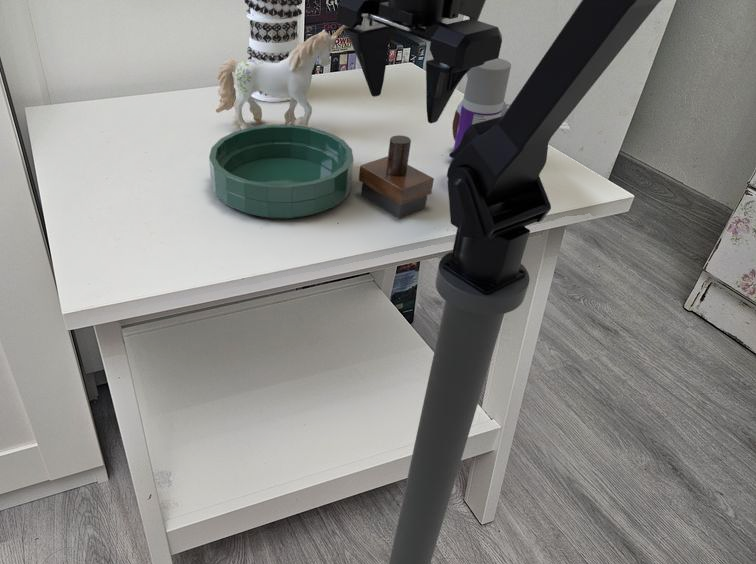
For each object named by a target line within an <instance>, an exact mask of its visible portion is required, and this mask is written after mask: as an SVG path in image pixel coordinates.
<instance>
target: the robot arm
mask: <svg viewBox="0 0 756 564" xmlns="http://www.w3.org/2000/svg"><path fill="white" fill-rule="evenodd" d="M486 1H487V0H339V1H338V3H337V11H336V23H337V24H340V25H341V26H343V25H345V26H346V27H345V28H344V30H343V33H344V34H345V35H347V37H348V39H349V41H350V44H351V46H352V48H353V50H354V52H355V56H356V57H357V58H356V59H357V60H358V63H359V65H360V68H361V70H362V74H363V76H364V78H365V81H366V84H367V87H368V90H369V93H370V96H372V97H374V98H375V97H380V96H381V94H382V90H383V86H384V81H385V75H386V67H387V62H388V61H387V60H388V53H389V46H390V44H391V42H392V40H393V38H394V37H395V35H396V33H397V31H400V32H403V33H405V34H408V35H411V36H414V37H416V38H419V39H422V40H425V41H428V42H430V43H429V52H430V54H431V57H432V59H429V60H426V61H425V81H426V82H425V85H426V86H425V90H426V92H425V95H426V96H425V97H426V98H425V99H426V101H425V102H426V116H427V117H426V119H427V122H428V123H429V124H433V123H437V122H438V120H439V119H440V117H441V115H442V113H443V112H444V110H445V108H446V107H447V105H448V103H449V101H450V99H451V97H452V95H453V94H454V92H455V90H456V88H457V86H458V85H459V84H460V83H461V81H462V79H463V78H464V77H465V75H467V74H466V73H467V72H468V71H469V70H470V69H471V68H473V67H477V66H481V65H483V64H484V63H485V62H487V61H490V60H494V59H498V58H500V52H501V48H502V44H503V43H502V42H503V35H502V33H501V30H500V29H499V27H498V26H495V25H493V24H489V23H487V22H483V21H480V20H479V19H480V16H481V14H482V10H483V9H484V6H485V3H486ZM661 1H662V0H580V3H579V4H578V5H577V7H575V10H573V13H571V15H570V17H569V19H568V20H567V21H566V23H565V24H564V26H563V27H562V29H561V30H560V32H559V33H558V34H557V36H556V38H555V39H554V40H553V41H552V43H551V44H550V47H548V49H547V51H546V52H545V54H544V55H543V57H542V58H541V59H540V61H539V63H538V64H537V65H536V67H535V68H534V70H533V71H532V73H531V74H530V76H529V77H528V79H527V80H526V81H525V83H524V84H523V86H522V87H521V89H520V90H519V92H518V93H517V95H516V96H515V98H514V99H513V101H512V102H511V103H510V105H509V107H507V108H508V110H507V111H506V112H505V114H504V115H503V116H501V117H497V118H493V119H490V120H486V121H483V122H479V123H475V124H472V125H470V126H469V128H468V129H467V130H466V131H465V133H464V135H463V138H462V140H461V142H460V144H459V146H458V147H457V148H456V150H455V151H452V152H450V153H449V155H448V156H449V157H450V158H451V161H452V162H451V161H450V163H449V166H448V169H447V174H446V177H447V190H448V191H447V192H448V207H449V218H450V219H449V221H450V224H451V225H452V226H453V227H455V228H456V233H455V236H454V242H453V247H452V250H451V252H452V257H454V259H451V260H449V261H447V262H445V263H444V264H443V269H445V270H446V271H448V272H449V273H451V274H452V275H454V276H456V277H457V278H459V279H460V280H462V281H463V282H465V283H466V284H468V285H469V286H471V287H473V288H474V289H476V290H477V291H479V292H480V293H482V294H484V295H490V294H492V293H494V292H496V291H498V290H500V289H502V288H504V287H506V286H508V285H510V284H512V283H514V282H516V281H518V280H520V279H522V278H524V277H525V275H526V271H525V270H523V269H521V268H519V267H520V264H522V260H523V256H524V254H525V249H526V247H527V246H526V245H527V243H528V240H529V237H530V233H531V230H530V229H529V228H527V226H530V225H532V224H534V223H540V222H542V221H543V220H544V219H545V217H547V215H548V214H549V212H550V211H551V209H552V205H551V202H550V199H549V198H548V194H547V192H546V189H545V187H544V185H543V181H542V180H541V177H540V174H541V172H542V171H543V169H544V168H545V165H546V164H547V160H548V152H549V151H548V149H549V143H550V141H551V139H552V138H553V136H554V135H555V133H556V132H557V131H558V129H559V128H560V127H561V126H562V125H563V123H564V122H565V121H566V120H567V118H568V117H569V116H570V115H571V114H572V112H573V111H574V110H575V108H576V107H577V106H578V104H579V103H580V102H581V101H582V100H583V99H584V97H585V96H586V95H587V94H588V92H589V91H590V90H591V89H592V87H593V86H594V84H596V82H597V81H598V80H599V78H600V77H601V76H602V74H604V72H605V71H606V70H607V68H608V67H609V66H610V65H611V63H612V62H613V61H614V60H615V58H616V57H617V56H618V55H619V54H620V52H621V51H622V50H623V48H624V47H625V46H626V45H627V43H628V42H629V41H630V40H631V38H632V37H633V36H634V34H635V33H636V32H637V31H638V30H639V28H640V27H641V26H642V25H643V23H644V22H645V21H646V20H647V19H648V17H649V16H650V14H651V13H652V12H653V11H654V10H655V8H656V7H657V6H658V4H659V3H661ZM459 15H461V16H464V17H468V19H464V20H459V21H455V22H451V23H446V22H443V21H444V19H448V20H453V19H457V18H459ZM452 158H454V159H453V160H452Z"/></svg>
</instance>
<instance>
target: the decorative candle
mask: <svg viewBox="0 0 756 564" xmlns="http://www.w3.org/2000/svg"><path fill="white" fill-rule="evenodd" d="M244 4H246V5H247V9H246V10H245V11H246V12H245V13H246V18H248V19H249V35H248V36H249V39H248V40H249V41H248V43H249V46H248V47H247V54H248V55H249V57H247V60H249V59H256V60H260V61H264V62H270V63H279V62H280V61H282V60H284V59H287V58H288V56H289V54H290V52H292V51H293V50H294V49H296V47H297V45H299V44H300V43H299V39H300V38H299V33H298V29H299V27H298V21H299V19H301V16H302V14H303V11H302V9H300V8H299V6H300V5H301V4H303V0H244ZM251 96H252V98H253V99H254V100H258V101H263V102H268V103H269V102H272V103H273V102H274V103H275V102H276V103H279V102H286V101H290V100H291V96H290V95H289V96H282V97H277V96H271V95H268V94H266V93H264V92H262V91H255V92H254V93H253V94H252V95H251Z"/></svg>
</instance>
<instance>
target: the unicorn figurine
mask: <svg viewBox="0 0 756 564" xmlns="http://www.w3.org/2000/svg"><path fill="white" fill-rule="evenodd" d="M345 27H347V26H345V25H341V26H340V27H339V28H338V29H337V30H336V31H335V32H334V33H333V34H331V35H330V33H328V32H327V31H326V29H323V30H322V31H320V32H318V33H317V34H314V35H312V36H309V38H307V39H306V40H304V41H303V42H300V43H299V44H298V45H297V47H296V49H294V50H293V51H292V52H290V54H289V56H288V58H287V59H284V60H282V61H280V62H279V63H270V62H264V61H260V60H256V59H249V60H248V59H246V60H243V61H241V62H237V61H236V60H235V59H232V58H228V59H226V60H225V61H224V62H223V63H222V65H220V67H219V68H218V71H219V73H218V75H217V80H218V86H219V87H220V88H219V89H218V90H217V93H218V96H220V99H219V102H220V103H219V105H218V108H216V109H215V112H216V113H217V114H218V113H221V112H223V111H230V110H231V109H232V108H233V107H234V113H235V114H234V115H233V117H232V118H233V120H232V124H233V126H235V128H236V129H239V128H240V130H243V129H247V128H251V126H250V124H249V123H247V122H246V121H245V120H244V117H243V107H244V105H245V103H248V105H249V111H250V113H251V114H252V116H253V120H254V121H255V122H256V124H261V123H262V117H263V110H262V107H261V105H259V104H258V103H257V102H256V100H255V99H254V98H253V97H252V96H251V95H252V94H253V93H254V92H255V91H262V92H264V93H266V94H268V95H271V96H277V97H282V96H289V95H290V96H291V100H289V107H288V109H287V110H286V112H285V113H284V121H285V122H284V125H289V124H290V125H297V126H304V127H308V125H309V121H310V119H311V116H312V114H313V108H312V106H311V103H310V102H309V100H308V98H307V96H306V94H307V92H308V91H309V90H310V88H311V85H312V79H313V74H312V73H313V71H314V67H315V65H316V62H317V60H318V59H319V66H321V67H327V66H328V65H330V64H331V62H332V60H331V58H330V54H331V51H332V50H333V47H335V46H336V40H337V39H338V37H339V35H341V33H342V32H343V31H344V28H345ZM233 73H234V75H233ZM235 86H236V87H235ZM236 88H237V90H238V97H237V90H236ZM298 104H299V105H300V106H301V107H302V108H303V111H304V112H303V116H299V117H296V116H295V110H296V107H297V105H298Z"/></svg>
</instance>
